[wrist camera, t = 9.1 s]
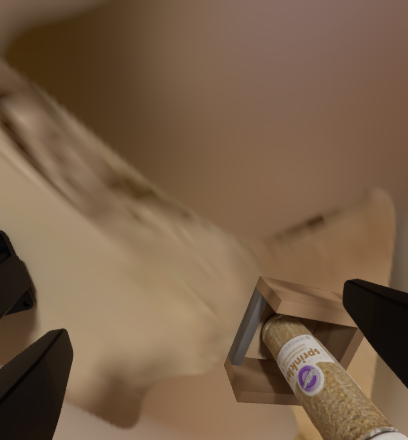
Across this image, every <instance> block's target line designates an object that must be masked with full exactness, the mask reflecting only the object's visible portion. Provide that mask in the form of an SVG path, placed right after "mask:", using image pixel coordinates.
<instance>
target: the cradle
mask: <svg viewBox="0 0 408 440" xmlns="http://www.w3.org/2000/svg"><path fill="white" fill-rule="evenodd" d="M342 298H343V295H341V294H337V293H333V292H328V291H324V290H320V289H315V288H311V287H306V286H302V285H297V284H293V283H289V282H284V281H280V280H275V279H271V278H267V277H262V276H260V278H259V281H258V283H257V286H256V288H255V291H254V293H253V296H252V298H251V300H250V303H249V305H248V308H247V310H246V313H245V315H244V317H243V320H242V322H241V325H240V327H239V330H238V332H237V335H236V337H235V339H234V342H233V344H232V347H231V349H230V352H229V354H228V357H227V359H226V361H225V364H224V366H225V369H226V372H227V375H228V377H229V380H230V383H231V385H232V389H233V391H234V394H235V397H236V400H237V402H246V403H264V404H281V405H298V406H302V405H301V403H300V402H299V400H298V398H297V397H296V395H295V393H294V392H293V390H292V388H291V387H290V385H289V383H288V382H287V380H286V378H285V377H284V375H283V373H282V372H281V370H280V368H279V366H278V364H277V362H276V361H273V360H264V359H254V358H247V357H246V358H245V354H246V352H247V350H248V348H249V345H250V343H251V340H252V338H253V336H254V333H255V331H256V329H257V326H258V324H259V322H260V319H261V317H262V315H263V312H264V310H265V308H266V305H267V303H269V304H270V306H271V307H272V308H273V309H274V311H275V312H276V313H280V314H285V315H291V316H296V317H302V318H307V319H313V320H318V321H319V322H318V324H317V326H316V328H315V330H314V333H313V336H314V337H315V338H316V339H318V340H319V341H320V343H321V344H322V345H323V346H324V347H325V348H326V349H327V350H328V352H329V353H330V354H331V355H332V356H333V357H334V358H335V359H336V360H337V362H338V363H339V364H340V365H341V366H342V367H343V368H344V369H345V371H346V370H347V368H348V366H349V364H350V362H351V360H352V358H353V356H354V354H355V353H356V351H357V349H358V347H359V345H360V343H361V341H362V339H363V337H364V335H363V334H362V332H361V331H360V329H359V328H358V327H357V325H356V324H355V322H354V321H353V320H352V318H351V317H350V316H349V314H348V313H347V311H346V310H345V308H344V306H343V303H342Z"/></svg>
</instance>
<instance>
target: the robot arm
mask: <svg viewBox="0 0 408 440" xmlns="http://www.w3.org/2000/svg"><path fill="white" fill-rule="evenodd" d="M25 301H28V302H29V303H30V304H27V303H26V302H25ZM35 302H36V300H35V297H34V295H33V293H32V291H31V288H30V282H29V280H28V277H27V275H26V273H25V271H24V268H23V266H22V264H21V262H20V259H19V257H18V256H17V255H15V253H14V251H13V248H12V246H11V244H10V242H9V240H8V237H7V235H6V234H5V232H3V231H1V230H0V320H1V319H2V318H3V317H4V316H5V315H8V314H12V313H16V312H20V311H24V310H28V309H30V308H32V307H33V305H34V304H35ZM342 303H343V306H344V308H345V310H346V311H347V313H348V314H349V316H350V317H351V318H352V320H353V321H354V322H355V324H356V325H357V327H358V328H359V329H360V331H361V332H362V334H363V335H364V336H365V338H366V339H367V340H368V342H369V343H370V344H371V346H372V347H373V348H374V350H375V351H376V352H377V353H378V355H379V356H380V357H381V358H382V359H383V360H384V362H385V363H386V364H387V365H388V366H389V367H390V369H391V370H392V371H393V372H394V373H395V374H396V376H397V377H398V378H399V379H400V380H401V381H402V383H403V384H404V385H405V386H406V387H407V388H408V293H406V292H403V291H399V290H395V289H392V288H389V287H385V286H382V285H378V284H375V283H371V282H368V281H364V280H361V279H352V280H347V281H346V282H345V283H344V289H343V298H342ZM72 361H73V349H72V345H71V342H70V338H69V335H68V332H67V330H66V329H64V328H63V329H57V330H51V331H49V332H47V333H46V334H45V335H43V336H42V337H41V338H40V339H38V340H37V341H36V342H34V343H33V344H32V345H31V346H29V347H28V348H27V349H25V350H24V351H23V352H21V353H20V354H19V355H18V356H16V357H15V358H14V359H12V360H11V361H10V362H8V363H7V364H6V365H5V366H3V367H2V368H1V369H0V440H52V438H53V435H54V432H55V429H56V426H57V423H58V419H59V416H60V412H61V408H62V404H63V400H64V396H65V391H66V387H67V382H68V378H69V374H70V369H71V365H72Z"/></svg>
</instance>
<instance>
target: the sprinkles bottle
mask: <svg viewBox="0 0 408 440" xmlns="http://www.w3.org/2000/svg"><path fill="white" fill-rule="evenodd" d="M262 340H263V342H264V344H265V345H266V346H267V347H268V349H269V350H270V352H271V353H272V355H273V357H274V359H275V360H276V362H277V364H278V366H279V368H280V370H281V372H282V373H283V375H284V377H285V378H286V380H287V382H288V383H289V385H290V387H291V388H292V390H293V392H294V393H295V395H296V397H297V398H298V400H299V402H300V403H301V405H302V407H303V408H304V410H305V412H306V413H307V415H308V417H309V418H310V420H311V421H312V423H313V425H314V426H315V427H316V429H317V430H318V431H319V433H320V435H321V436H322V438H323V440H408V438H407V437H406V436H405V435H403V434H401V433H399V431H398V430H397V429H396V428H395V427H393V426H392V425H391V424H390V423H389V422H388V420H387V419H386V418H385V417H384V416H383V415H382V414H381V413H380V411H379V410H378V409H377V408H376V407H375V405H374V404H373V403H372V402H371V401H370V400H369V399H368V397H367V396H366V395H365V394H364V393H363V391H362V389H361V388H360V386H359V385H358V384H357V383H356V382H355V381H354V380H353V378H352V377H351V376H350V375H349V374H348V373H347V372H346V371H345V369H344V368H343V367H342V366H341V365H340V364H339V363H338V362H337V360H336V359H335V358H334V357H333V356H332V355H331V354H330V353H329V352H328V350H327V349H326V348H325V347H324V346H323V345H322V344H321V343H320V341H319V340H318V339H316V338H315V337H314V336H313V335H312V334H311V333H310V332H309V330H308V329H307V328H306V327H305V326H304V325H303V324H302V322H301V320H300V318H299V317H296V316H291V315H285V314H280V313H278V314H275V315H274V316H272V317H271V318H269V319H268V321H267V322H266V323H265V325H264V326H263V329H262Z"/></svg>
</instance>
